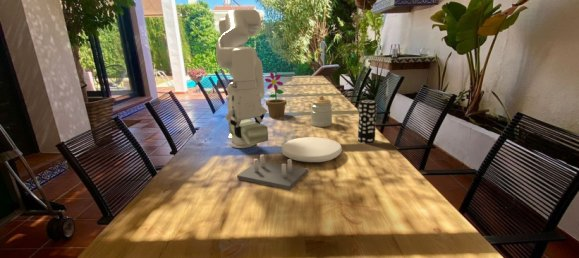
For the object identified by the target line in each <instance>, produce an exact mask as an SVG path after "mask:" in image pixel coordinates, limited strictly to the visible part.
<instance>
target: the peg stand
mask: <svg viewBox="0 0 579 258" xmlns="http://www.w3.org/2000/svg"><path fill="white" fill-rule="evenodd" d="M259 157H260V158H259V159H260V160H259V159H258V158H253V164H252V165H250V166H249V167H247V168H246V169H245V170H243V171H241V172H240V173H237V175H236V177H237V180H241V181H245V182H250V183H255V184H261V185H264V186H269V187H272V188H273V187H274V188H279V189H283V190H288V191H290V190H291V189H293V187H294V186H296V185H297V184H298V183H299V182H300V181H301V180H302V179H303V178H304V177H305V176H306V175H307V174H308V173H309V169H308V168H307V167H301V166H295V165H293V161H292V160H293V159H290V158H289V159H287V164H286V163H277V162H271V161H266V160H265V154H260V156H259Z"/></svg>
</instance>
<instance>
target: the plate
mask: <svg viewBox="0 0 579 258" xmlns="http://www.w3.org/2000/svg"><path fill="white" fill-rule="evenodd" d="M342 151H343V148H342V145H341V144H340V143H339V142H337V141H335V140H332V139H329V138H325V137H318V136H316V137H314V136H313V137H312V136H311V137H310V136H309V137H299V138H294V139H290V140H288V141H286V142H285V143H283V144H282V146H281V153H282V155H283V156H285V157H286V158H289V159H291V160H295V161H298V162H304V163H322V162H329V161H331V160H333V159H335V158H337V157H338V156H340V154H342Z"/></svg>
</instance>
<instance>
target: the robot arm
mask: <svg viewBox="0 0 579 258" xmlns="http://www.w3.org/2000/svg"><path fill="white" fill-rule="evenodd" d="M261 26H262V20H261V15H260V13H259V12H258V11H257V10H256V9H251V8H249V9H243V8H241V9H240V8H239V9H231V10H229V11H228V12H227V13H225V16H224V18H223V17H222V18H221V19H220V20H219V22H218V28H219V33H220V36H219V37H218V39H217V42H216V44H215V45H216V47H215V48H216V49H215V53H216V62H217V64H218V67H220V68H221V69H223V70H228V73H229V76H230V77H232V81H231V82H230V83H228V85H227V88H226V90H227V91H226V92H227V95H228V96H229V101H230V107H231V110H230V112H229V113H228V112H227V113H226V115H225V116H224V118H225V120H226V121H229V122H230V123H231V124H232V125H233V126H234V131H235V135H236V137H238V138H241V128H240V127H239V125H240V122H241V120H245V119H249V120H252V119H254V120H253V121H254V122H257V123H259V124H262V121H263V119H264V118H265V116H266V114H267V112H268V109H266V108H265V107H263V105H262V99H264V97H265V82H264V81H265V78H264V69H263V63H262V60H261V59H260V58H259V57H258V52H257V50H256V49H255V48H254V47H252V46H245V44H246V43H247V42H248V40H249V38H250V37H256V36H258V34H259V32H260V30H261ZM231 117H232V119H231ZM229 122H228V123H229ZM236 137H234V136H233V135H231V134H230V133H229V134H228V136H227V139H228V140H231V142H230V146H231V147H233V148H235V149H247V148H251V147H253V146H255V145H256V144H253V145H249V144H247V143H245V142H244V141H242V140H240V139H238V138H236Z"/></svg>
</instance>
